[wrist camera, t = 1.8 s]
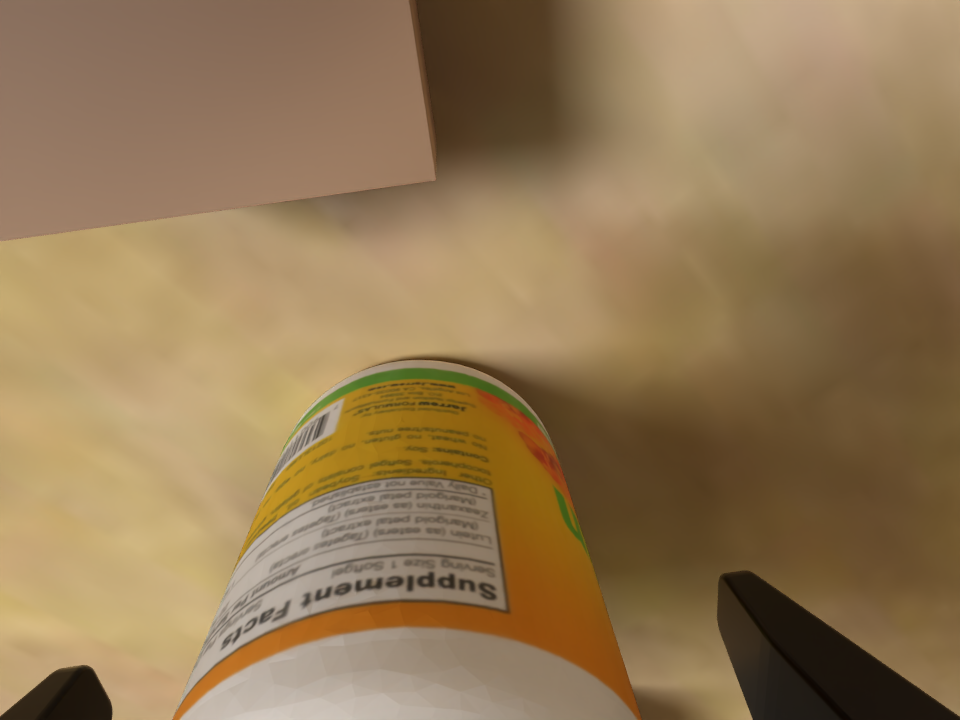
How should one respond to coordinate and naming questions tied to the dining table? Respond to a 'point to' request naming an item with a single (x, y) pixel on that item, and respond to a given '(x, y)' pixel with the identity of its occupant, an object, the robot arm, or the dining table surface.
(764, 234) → the dining table surface
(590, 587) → the supplement bottle
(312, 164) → the pinkish brown block
